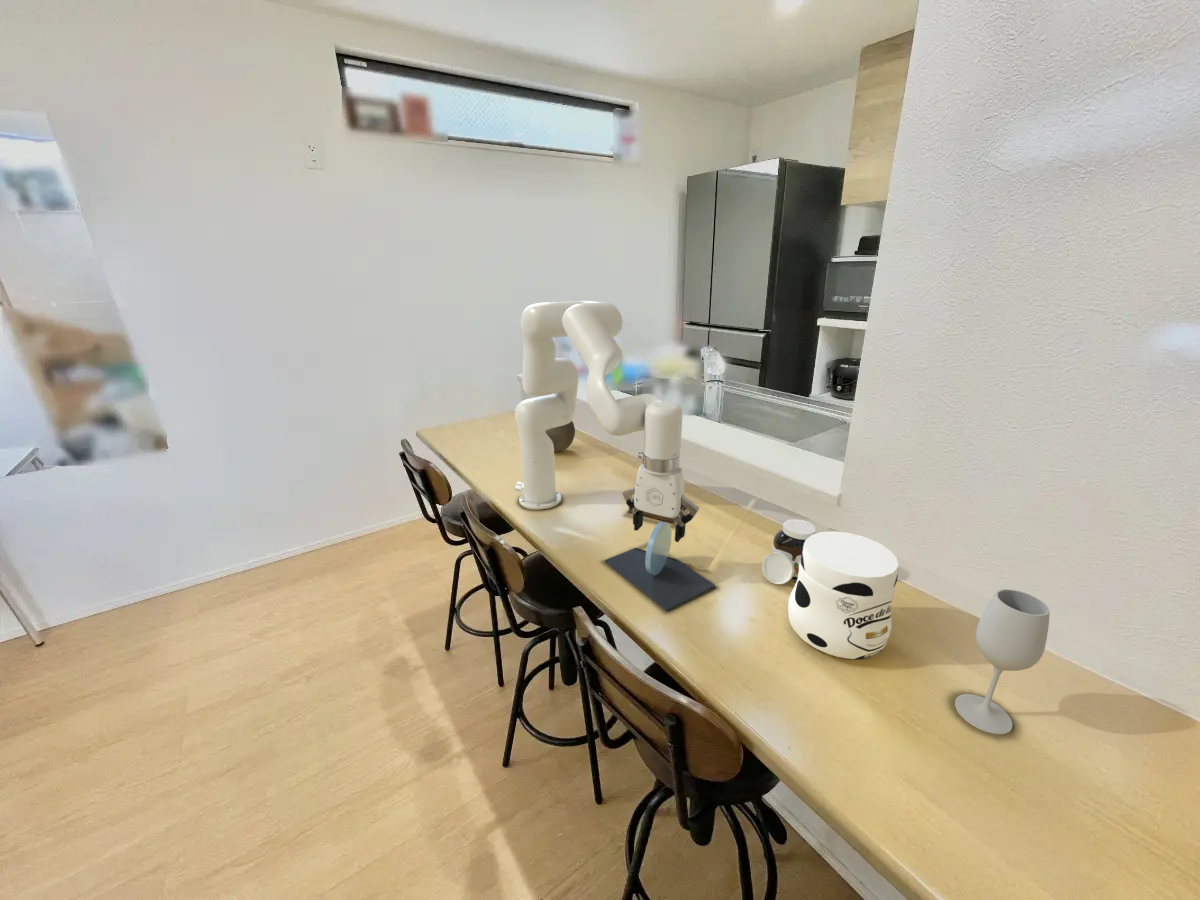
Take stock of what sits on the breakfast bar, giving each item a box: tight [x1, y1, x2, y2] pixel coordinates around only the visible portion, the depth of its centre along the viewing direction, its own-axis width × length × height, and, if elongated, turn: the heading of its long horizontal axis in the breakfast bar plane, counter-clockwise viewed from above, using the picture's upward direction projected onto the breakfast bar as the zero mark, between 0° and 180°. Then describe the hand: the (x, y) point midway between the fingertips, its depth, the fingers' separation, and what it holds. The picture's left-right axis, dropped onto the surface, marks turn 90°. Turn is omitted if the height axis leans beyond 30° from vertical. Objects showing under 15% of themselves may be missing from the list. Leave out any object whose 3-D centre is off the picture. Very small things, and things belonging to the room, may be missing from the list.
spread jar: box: [761, 518, 817, 585], centre depth 109 cm, size 12×11×12 cm
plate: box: [645, 521, 672, 575], centre depth 110 cm, size 1×12×12 cm, turn 150°
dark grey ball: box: [546, 420, 576, 453], centre depth 184 cm, size 14×14×15 cm
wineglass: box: [954, 588, 1051, 736], centre depth 73 cm, size 8×8×21 cm
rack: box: [626, 506, 688, 525], centre depth 139 cm, size 14×12×6 cm
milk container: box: [787, 530, 899, 661], centre depth 90 cm, size 17×17×18 cm
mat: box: [604, 547, 716, 612], centre depth 112 cm, size 22×14×1 cm, turn 34°
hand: (658, 533), depth 109 cm, fingers open, 9 cm apart
